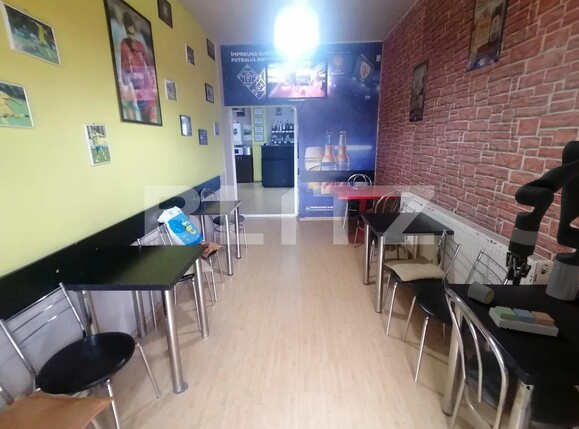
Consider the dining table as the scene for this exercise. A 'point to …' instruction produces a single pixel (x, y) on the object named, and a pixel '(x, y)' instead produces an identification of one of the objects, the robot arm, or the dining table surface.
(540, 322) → the terracotta button
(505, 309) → the green button
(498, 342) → the dining table surface
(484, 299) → the grey cylinder
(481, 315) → the dining table surface
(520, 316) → the slate button
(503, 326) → the console
